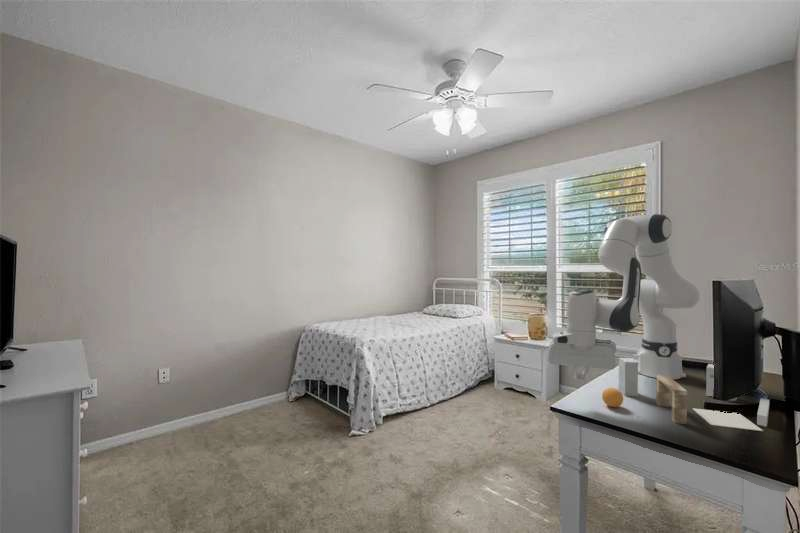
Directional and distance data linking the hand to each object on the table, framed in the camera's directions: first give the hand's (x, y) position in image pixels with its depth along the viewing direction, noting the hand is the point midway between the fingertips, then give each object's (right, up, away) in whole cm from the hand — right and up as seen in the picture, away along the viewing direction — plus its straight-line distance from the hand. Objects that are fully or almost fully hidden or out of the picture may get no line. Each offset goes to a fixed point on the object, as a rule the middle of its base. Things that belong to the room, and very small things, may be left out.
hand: (579, 379), depth 122 cm
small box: (+52, -8, +5) cm, 53 cm away
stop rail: (+51, -8, -10) cm, 53 cm away
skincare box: (+22, -8, +9) cm, 25 cm away
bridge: (+25, -8, -8) cm, 27 cm away
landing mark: (+38, -8, -12) cm, 41 cm away
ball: (+9, -5, -3) cm, 11 cm away
